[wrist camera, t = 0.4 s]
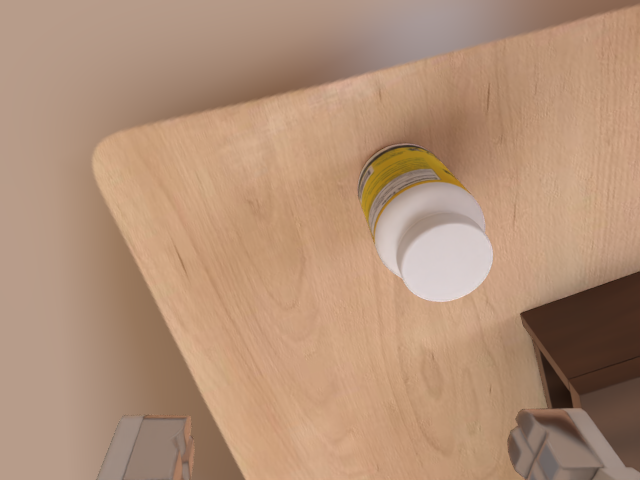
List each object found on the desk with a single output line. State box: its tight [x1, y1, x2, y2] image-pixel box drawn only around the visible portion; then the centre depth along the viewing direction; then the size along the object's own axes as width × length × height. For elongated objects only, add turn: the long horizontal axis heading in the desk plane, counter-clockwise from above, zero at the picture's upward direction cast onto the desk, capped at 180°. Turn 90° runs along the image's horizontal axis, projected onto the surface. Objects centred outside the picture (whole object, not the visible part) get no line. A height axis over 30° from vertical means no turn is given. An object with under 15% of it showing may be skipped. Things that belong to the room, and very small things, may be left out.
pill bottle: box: [358, 143, 493, 302], centre depth 27 cm, size 6×6×11 cm
